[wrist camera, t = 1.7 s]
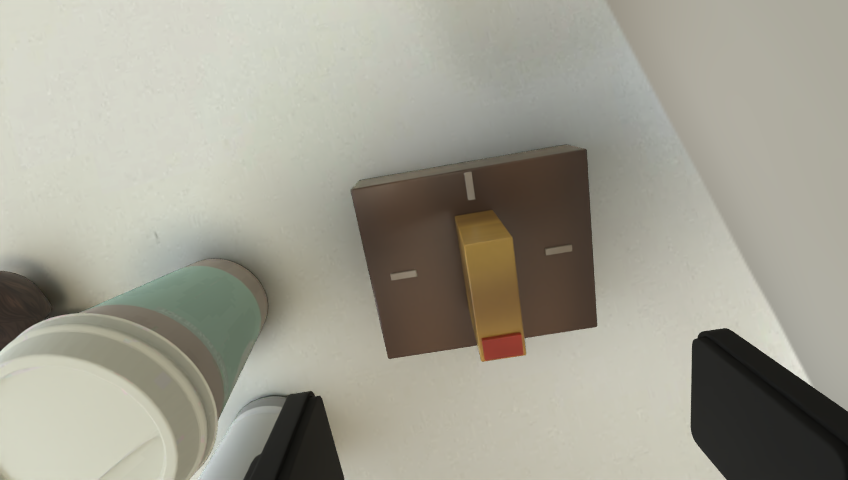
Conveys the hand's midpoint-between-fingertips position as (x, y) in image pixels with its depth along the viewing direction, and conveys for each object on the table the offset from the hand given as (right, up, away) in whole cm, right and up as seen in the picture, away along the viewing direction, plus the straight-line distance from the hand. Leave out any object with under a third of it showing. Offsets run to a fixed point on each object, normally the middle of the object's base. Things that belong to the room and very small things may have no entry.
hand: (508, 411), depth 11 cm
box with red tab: (+1, +3, +12) cm, 13 cm away
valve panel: (+1, +4, +15) cm, 16 cm away
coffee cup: (-15, 0, +16) cm, 22 cm away
